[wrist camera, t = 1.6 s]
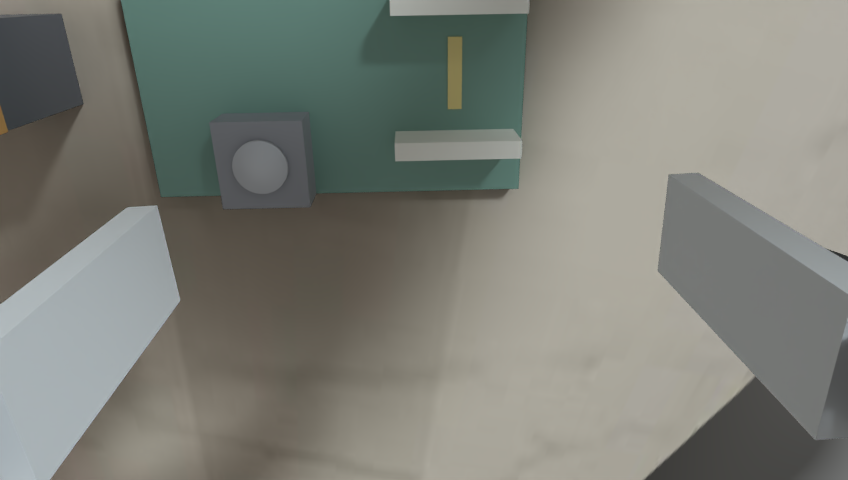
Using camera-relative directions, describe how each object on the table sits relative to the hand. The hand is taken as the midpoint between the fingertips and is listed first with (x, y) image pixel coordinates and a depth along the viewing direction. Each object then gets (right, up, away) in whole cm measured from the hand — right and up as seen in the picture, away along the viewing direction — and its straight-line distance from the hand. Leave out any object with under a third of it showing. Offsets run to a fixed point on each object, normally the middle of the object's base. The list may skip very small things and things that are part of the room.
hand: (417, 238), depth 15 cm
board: (-5, +9, +19) cm, 22 cm away
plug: (-22, +10, +18) cm, 31 cm away
